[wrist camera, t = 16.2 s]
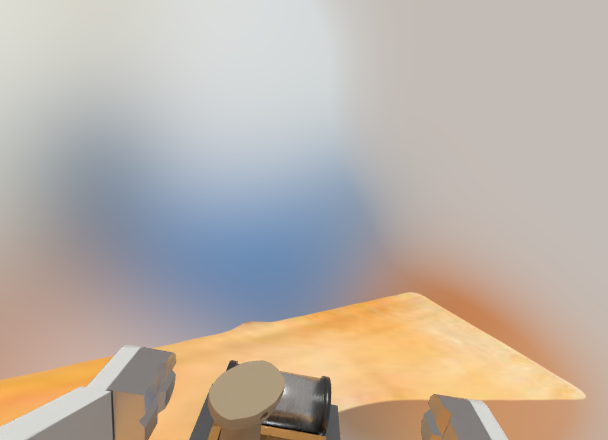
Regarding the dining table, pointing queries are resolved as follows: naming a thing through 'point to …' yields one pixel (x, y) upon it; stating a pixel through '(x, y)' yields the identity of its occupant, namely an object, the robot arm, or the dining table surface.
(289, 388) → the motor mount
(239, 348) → the dining table surface
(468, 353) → the dining table surface
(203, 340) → the dining table surface
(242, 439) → the handle
